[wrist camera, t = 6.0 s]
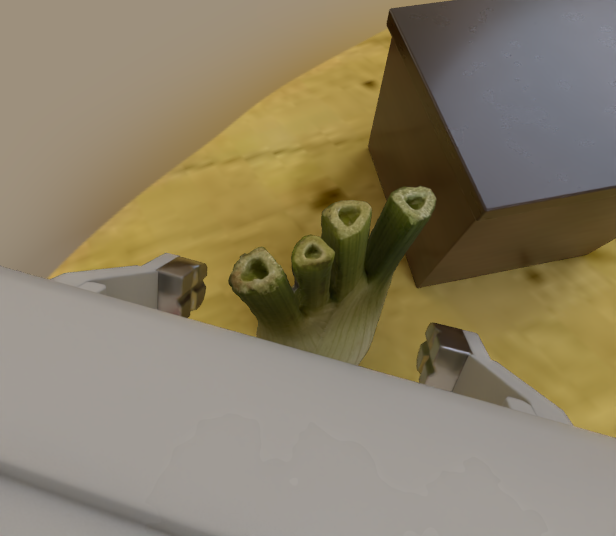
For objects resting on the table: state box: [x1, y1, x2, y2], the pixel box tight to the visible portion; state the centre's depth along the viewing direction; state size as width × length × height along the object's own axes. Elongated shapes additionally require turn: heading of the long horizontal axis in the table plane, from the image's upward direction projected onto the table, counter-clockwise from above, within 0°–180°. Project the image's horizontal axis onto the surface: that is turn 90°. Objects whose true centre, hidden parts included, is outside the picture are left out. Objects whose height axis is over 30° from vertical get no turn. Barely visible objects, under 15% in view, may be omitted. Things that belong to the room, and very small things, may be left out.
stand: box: [368, 0, 616, 288], centre depth 19 cm, size 12×12×9 cm
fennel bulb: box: [228, 186, 436, 366], centre depth 14 cm, size 6×5×12 cm
